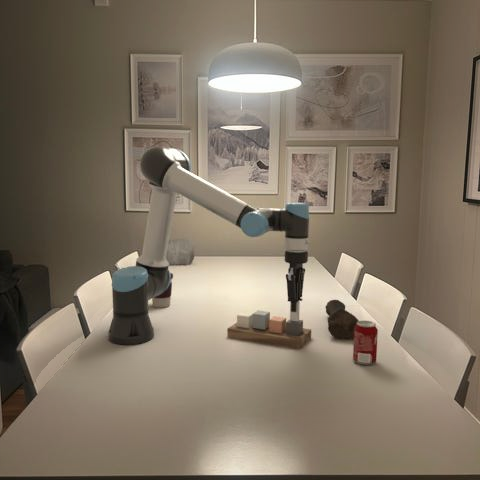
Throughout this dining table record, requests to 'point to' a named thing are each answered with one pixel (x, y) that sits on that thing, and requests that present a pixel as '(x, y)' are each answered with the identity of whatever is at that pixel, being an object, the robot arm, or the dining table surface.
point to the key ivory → (245, 320)
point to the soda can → (365, 343)
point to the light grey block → (261, 319)
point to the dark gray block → (294, 327)
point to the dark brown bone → (340, 320)
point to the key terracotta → (277, 324)
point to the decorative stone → (179, 251)
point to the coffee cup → (163, 297)
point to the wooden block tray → (269, 336)
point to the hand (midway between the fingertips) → (294, 320)
